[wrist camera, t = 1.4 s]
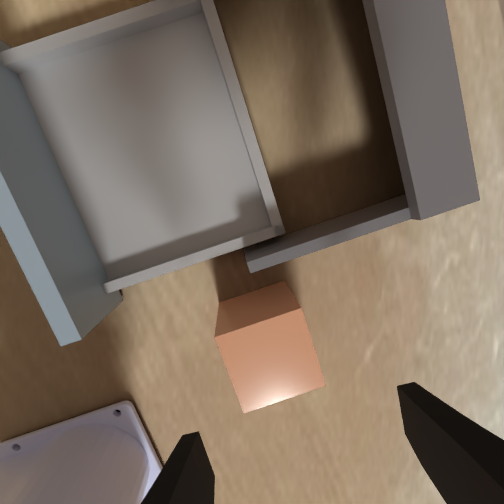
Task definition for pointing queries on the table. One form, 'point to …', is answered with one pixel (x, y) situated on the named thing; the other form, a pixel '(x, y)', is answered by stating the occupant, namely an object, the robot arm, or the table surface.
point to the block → (267, 347)
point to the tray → (126, 157)
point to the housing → (403, 130)
